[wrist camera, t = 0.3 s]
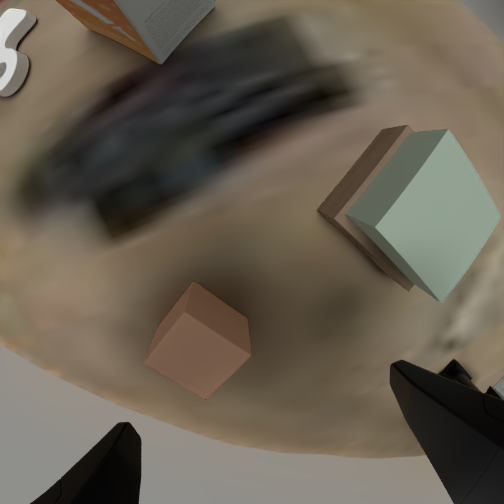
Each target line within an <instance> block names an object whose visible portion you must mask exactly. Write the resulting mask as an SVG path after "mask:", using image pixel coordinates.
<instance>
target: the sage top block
mask: <svg viewBox="0 0 504 504" xmlns="http://www.w3.org/2000/svg"><path fill="white" fill-rule="evenodd" d="M346 215H347V216H348V217H349V218H350V219H351V220H352V221H353V222H354V223H355V224H356V225H357V226H358V227H359V228H360V229H361V230H362V231H363V232H364V233H365V234H366V235H367V236H368V237H369V238H370V239H371V240H372V241H373V242H374V243H375V244H376V245H377V246H378V247H379V248H380V249H381V250H382V251H383V252H384V253H385V254H386V255H387V256H388V258H389V259H390V260H391V261H392V262H393V263H394V264H395V265H396V266H397V267H398V268H399V269H400V270H401V272H402V273H403V274H404V275H405V276H406V277H407V278H408V279H409V280H410V281H411V282H413V283H414V284H415V285H417V286H418V287H420V288H421V289H422V290H424V291H425V292H426V293H428V294H429V295H431V296H432V297H433V298H435V299H436V300H437V301H439V302H440V303H441V304H442V303H443V301H444V300H445V299H446V297H447V296H448V295H449V294H450V292H451V291H452V290H453V288H454V287H455V286H456V284H457V283H458V282H459V280H460V279H461V278H462V276H463V275H464V274H465V272H466V271H467V269H468V268H469V267H470V265H471V264H472V262H473V261H474V259H475V258H476V256H477V255H478V253H479V252H480V250H481V249H482V247H483V246H484V244H485V243H486V241H487V239H488V238H489V236H490V235H491V233H492V231H493V230H494V228H495V226H496V225H497V223H498V221H499V220H500V218H501V215H500V213H499V211H498V209H497V207H496V205H495V203H494V202H493V200H492V198H491V196H490V194H489V192H488V190H487V189H486V187H485V185H484V183H483V182H482V180H481V178H480V176H479V175H478V173H477V171H476V170H475V168H474V166H473V165H472V163H471V162H470V160H469V159H468V157H467V155H466V154H465V152H464V151H463V149H462V148H461V146H460V145H459V143H458V142H457V141H456V139H455V138H454V136H453V135H452V133H451V132H450V131H449V129H443V130H433V131H423V132H414V133H410V134H409V135H408V136H407V137H406V139H405V140H404V141H403V143H402V144H401V145H400V147H399V148H398V149H397V150H396V152H395V153H394V154H393V156H392V157H391V158H390V159H389V161H388V162H387V163H386V164H385V166H384V167H383V168H382V169H381V171H380V172H379V173H378V174H377V176H376V177H375V178H374V179H373V181H372V182H371V183H370V184H369V186H368V187H367V188H366V189H365V191H364V192H363V193H362V194H361V195H360V197H359V198H358V199H357V200H356V201H355V203H354V204H353V205H352V206H351V208H350V209H349V210H348V211H347V212H346Z"/></svg>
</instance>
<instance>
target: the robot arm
mask: <svg viewBox="0 0 504 504" xmlns="http://www.w3.org/2000/svg"><path fill="white" fill-rule="evenodd" d="M471 379H472V378H471V376H470V375H469V374H468V373H467V372H466V371H465V370H464V368H463V367H462V366H461V365H460V364H459V363H458V362H457V361H456V360H453V361H452V362H451V363H450V364H449V366H448V367H447V368H446V369H445V370H444V371H443V372H442V373H441V374H440V375H438V374H435V373H433V372H430V371H428V370H426V369H423V368H421V367H418V366H416V365H414V364H411V363H409V362H407V361H404V360H399V361H396V362H394V363H392V364H391V366H390V385H391V388H392V390H393V393H394V395H395V397H396V399H397V401H398V404H399V406H400V408H401V410H402V413H403V415H404V417H405V419H406V421H407V423H408V425H409V427H410V428H411V430H412V432H413V433H414V435H415V437H416V438H417V440H418V442H419V443H420V445H421V447H422V448H423V450H424V452H425V454H426V455H427V457H428V459H429V460H430V462H431V464H432V466H433V467H434V469H435V471H436V472H437V474H438V476H439V478H440V479H441V481H442V483H443V485H444V487H445V488H446V490H447V492H448V494H449V496H450V497H451V499H452V501H453V503H454V504H504V397H503V396H502V395H501V394H500V393H499V392H498V391H496V390H495V389H494V388H492V387H491V386H490V387H489V388H488V389H487V392H486V393H482V392H481V391H480V390H479V389H478V388H477V387H476V386H475V385H474V384H473V383H472V382H471ZM140 483H141V438H140V436H139V434H138V433H137V432H136V430H135V429H134V427H133V426H132V425H131V423H129V422H120V423H118V424H116V425H115V426H114V427H113V428H112V429H111V430H110V431H109V432H108V433H107V434H106V435H105V436H104V437H103V438H102V439H101V440H100V441H99V442H98V443H97V444H96V445H95V446H94V447H93V448H92V449H91V450H90V451H89V452H88V453H87V454H86V455H85V456H83V458H82V459H80V460H79V461H78V462H77V463H76V464H75V465H74V466H73V467H72V468H71V469H70V470H69V471H68V472H67V473H66V474H65V475H64V476H62V477H61V479H59V480H58V481H57V482H56V483H55V484H54V485H53V486H52V487H50V488H49V489H48V490H47V491H46V492H45V493H43V494H42V495H41V496H40V497H38V498H37V499H36V500H34V501H33V502H32V503H30V504H139V493H140Z"/></svg>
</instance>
